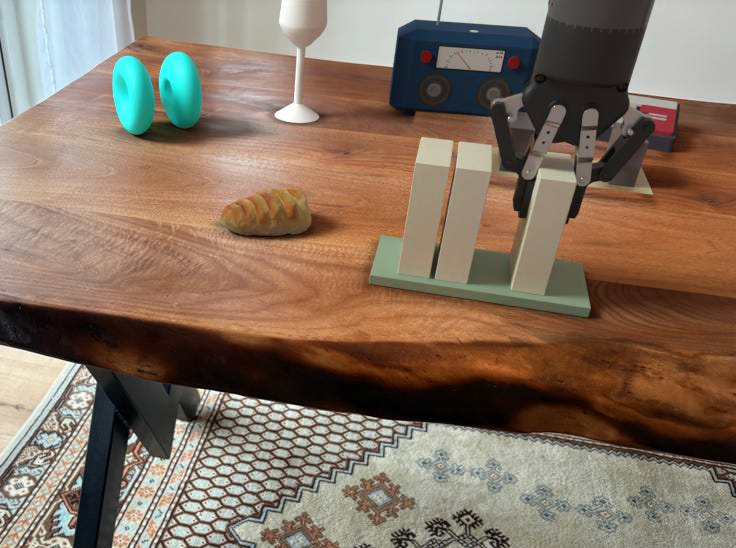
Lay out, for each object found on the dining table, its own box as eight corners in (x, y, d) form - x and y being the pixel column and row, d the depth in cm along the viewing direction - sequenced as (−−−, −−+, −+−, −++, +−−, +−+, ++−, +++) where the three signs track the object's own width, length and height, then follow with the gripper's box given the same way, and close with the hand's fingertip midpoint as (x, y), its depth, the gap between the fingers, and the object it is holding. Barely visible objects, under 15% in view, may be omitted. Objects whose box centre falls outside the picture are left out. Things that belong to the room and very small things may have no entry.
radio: (388, 116, 115) (408, -32, 104) (388, 99, 123) (407, -41, 111) (530, 128, 113) (567, -22, 102) (522, 110, 120) (555, -32, 109)
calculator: (591, 119, 106) (603, 87, 117) (583, 148, 108) (595, 114, 119) (678, 133, 102) (682, 98, 113) (667, 163, 105) (672, 127, 116)
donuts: (205, 136, 105) (205, 60, 100) (136, 145, 101) (132, 67, 96) (178, 115, 113) (176, 43, 107) (112, 123, 109) (107, 48, 103)
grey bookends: (638, 172, 100) (655, 122, 96) (650, 202, 92) (669, 149, 88) (481, 153, 104) (491, 105, 100) (480, 180, 96) (491, 129, 92)
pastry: (232, 244, 79) (233, 210, 77) (211, 218, 84) (211, 185, 82) (315, 233, 82) (318, 199, 80) (290, 208, 87) (292, 176, 85)
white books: (579, 272, 77) (616, 155, 70) (588, 317, 70) (629, 193, 63) (379, 243, 80) (396, 130, 74) (368, 284, 73) (385, 162, 66)
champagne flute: (295, 105, 118) (306, -73, 104) (328, 116, 114) (345, -67, 100) (265, 114, 114) (272, -70, 100) (298, 126, 110) (311, -64, 96)
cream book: (540, 261, 76) (570, 154, 70) (544, 296, 71) (577, 182, 64) (509, 257, 77) (536, 150, 70) (510, 291, 71) (540, 177, 65)
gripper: (505, 15, 58) (462, 224, 68) (704, 32, 56) (629, 246, 66) (504, -2, 64) (465, 192, 74) (683, 13, 62) (617, 212, 72)
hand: (542, 216), depth 70 cm, fingers closed on cream book, 3 cm apart
